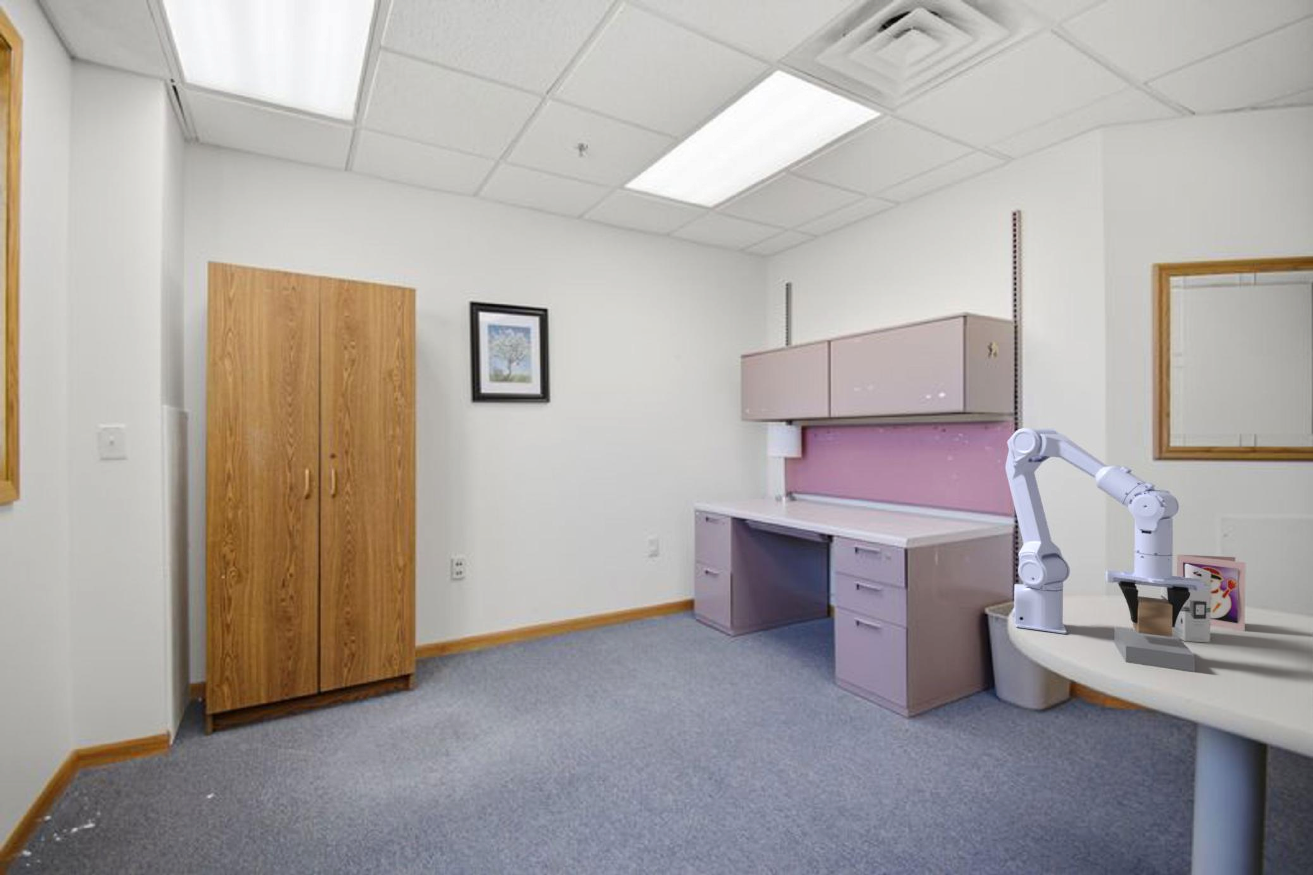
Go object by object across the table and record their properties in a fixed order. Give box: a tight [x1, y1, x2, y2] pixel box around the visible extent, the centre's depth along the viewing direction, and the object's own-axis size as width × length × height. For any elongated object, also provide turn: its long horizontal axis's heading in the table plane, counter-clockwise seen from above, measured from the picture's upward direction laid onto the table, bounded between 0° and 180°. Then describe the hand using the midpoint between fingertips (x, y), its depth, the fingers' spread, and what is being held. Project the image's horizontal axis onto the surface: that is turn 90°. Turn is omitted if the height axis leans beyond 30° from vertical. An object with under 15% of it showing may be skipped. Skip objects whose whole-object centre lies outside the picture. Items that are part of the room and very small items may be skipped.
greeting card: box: [1176, 554, 1246, 632], centre depth 139 cm, size 11×7×15 cm, turn 43°
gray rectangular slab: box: [1113, 627, 1196, 673], centre depth 117 cm, size 10×12×3 cm
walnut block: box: [1132, 595, 1173, 637], centre depth 118 cm, size 5×5×6 cm
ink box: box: [1160, 564, 1211, 644], centre depth 130 cm, size 9×5×15 cm, turn 168°
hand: (1152, 623), depth 117 cm, fingers closed on walnut block, 5 cm apart
